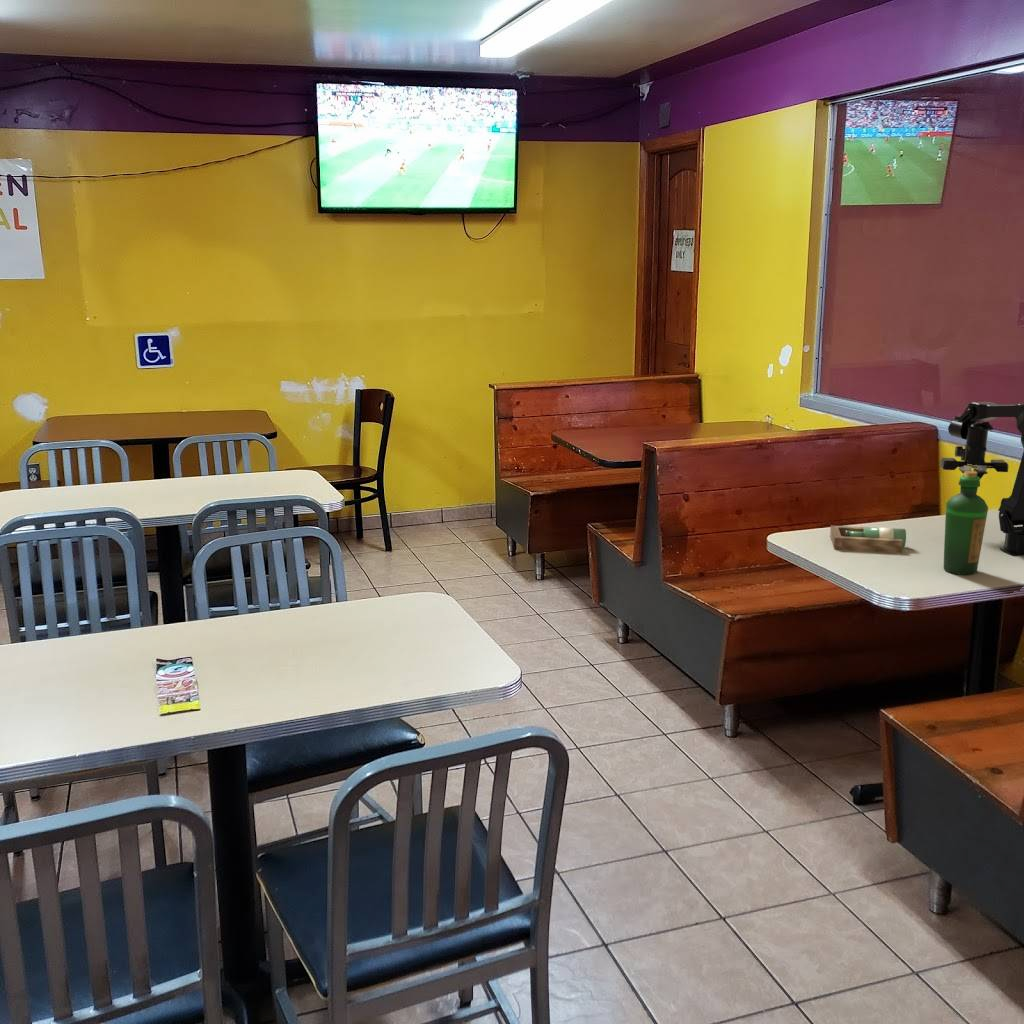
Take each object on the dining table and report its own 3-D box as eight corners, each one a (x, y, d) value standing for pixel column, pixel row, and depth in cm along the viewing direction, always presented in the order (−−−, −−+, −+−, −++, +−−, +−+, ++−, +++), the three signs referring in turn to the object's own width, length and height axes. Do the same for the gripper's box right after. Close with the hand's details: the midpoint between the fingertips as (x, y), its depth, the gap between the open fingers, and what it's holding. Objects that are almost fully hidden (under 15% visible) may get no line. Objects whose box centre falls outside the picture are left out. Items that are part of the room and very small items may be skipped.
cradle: (894, 539, 314) (895, 528, 313) (901, 552, 301) (902, 541, 300) (829, 536, 318) (830, 525, 317) (834, 549, 305) (834, 537, 304)
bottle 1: (906, 534, 301) (847, 531, 304) (904, 550, 304) (845, 547, 307) (904, 525, 306) (845, 522, 309) (901, 541, 308) (843, 538, 312)
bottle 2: (987, 576, 278) (999, 476, 271) (947, 576, 279) (958, 476, 272) (971, 565, 289) (982, 468, 282) (933, 565, 289) (943, 468, 282)
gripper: (1002, 438, 320) (996, 487, 324) (938, 436, 323) (933, 484, 327) (1011, 445, 309) (1005, 495, 313) (946, 443, 313) (940, 492, 317)
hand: (970, 491), depth 318 cm, fingers closed
